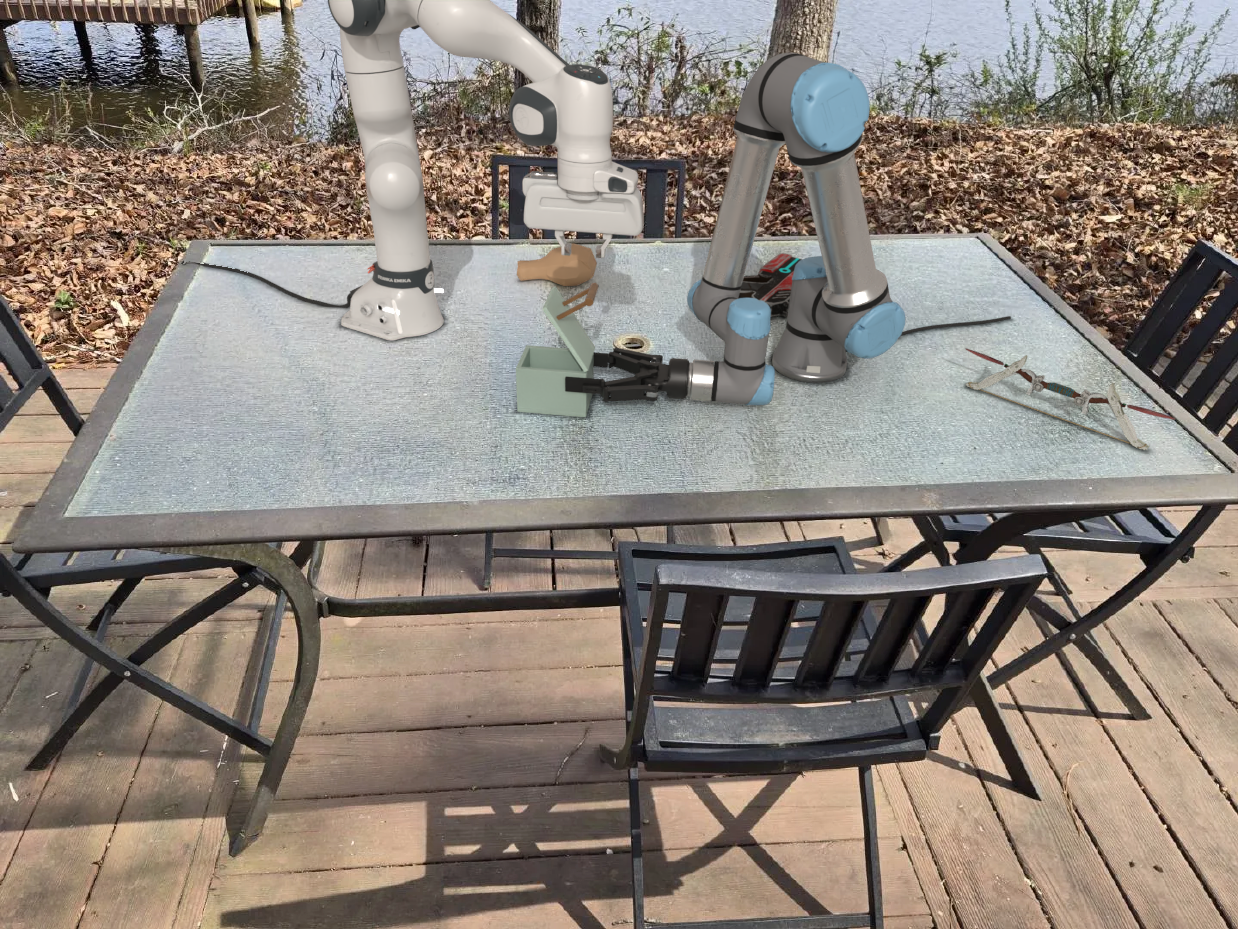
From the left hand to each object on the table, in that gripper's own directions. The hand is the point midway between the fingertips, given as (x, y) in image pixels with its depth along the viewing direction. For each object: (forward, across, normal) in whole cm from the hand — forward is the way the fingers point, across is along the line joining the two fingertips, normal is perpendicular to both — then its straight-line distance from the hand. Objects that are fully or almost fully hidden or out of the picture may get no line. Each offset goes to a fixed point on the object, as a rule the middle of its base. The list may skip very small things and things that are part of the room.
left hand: (583, 255), depth 151 cm
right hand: (+22, -2, 0) cm, 23 cm away
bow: (+29, +90, +9) cm, 95 cm away
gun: (+29, +38, +63) cm, 79 cm away
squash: (+29, -15, +60) cm, 68 cm away
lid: (+14, -3, 0) cm, 14 cm away
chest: (+30, -5, 0) cm, 30 cm away
